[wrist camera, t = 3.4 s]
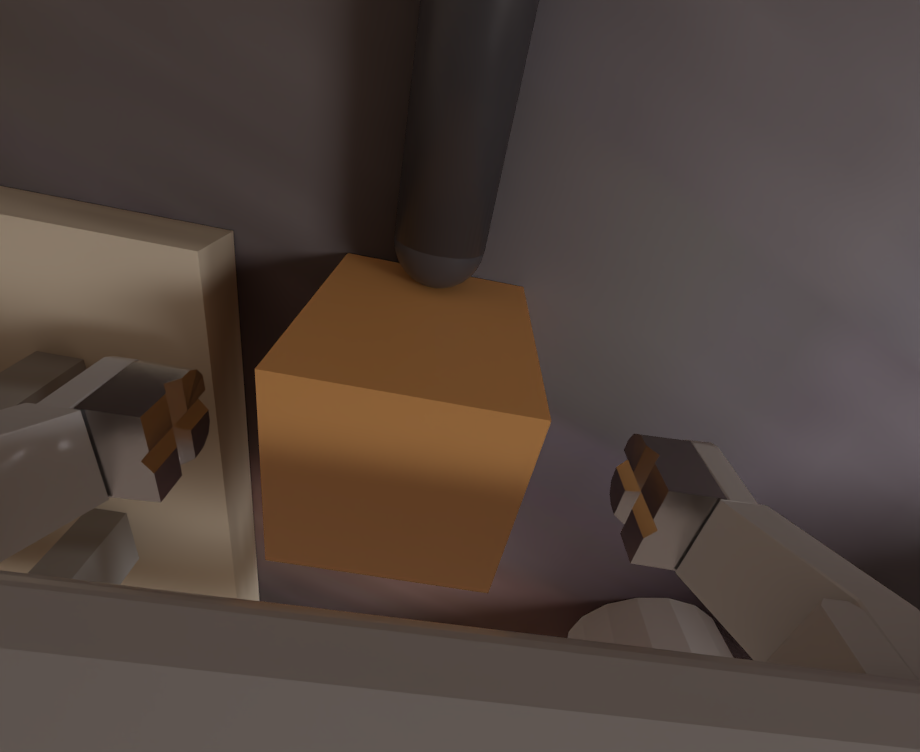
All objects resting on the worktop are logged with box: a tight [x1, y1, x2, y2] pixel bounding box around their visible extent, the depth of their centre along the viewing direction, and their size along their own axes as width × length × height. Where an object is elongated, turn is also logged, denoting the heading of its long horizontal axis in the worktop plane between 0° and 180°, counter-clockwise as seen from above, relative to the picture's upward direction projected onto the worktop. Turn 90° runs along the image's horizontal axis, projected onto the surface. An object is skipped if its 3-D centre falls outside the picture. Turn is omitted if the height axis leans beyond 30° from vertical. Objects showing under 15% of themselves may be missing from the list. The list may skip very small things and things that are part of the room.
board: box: [0, 186, 259, 601], centre depth 13 cm, size 20×11×4 cm, turn 169°
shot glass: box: [568, 598, 734, 658], centre depth 15 cm, size 7×7×7 cm
